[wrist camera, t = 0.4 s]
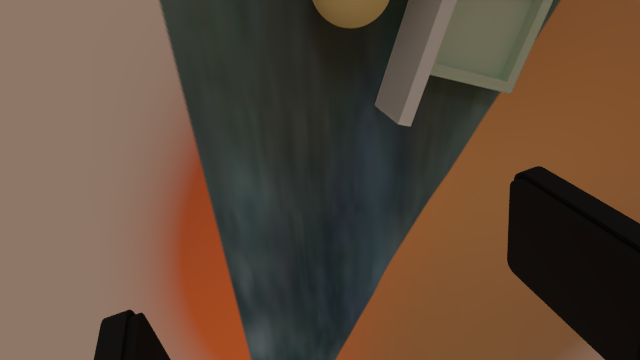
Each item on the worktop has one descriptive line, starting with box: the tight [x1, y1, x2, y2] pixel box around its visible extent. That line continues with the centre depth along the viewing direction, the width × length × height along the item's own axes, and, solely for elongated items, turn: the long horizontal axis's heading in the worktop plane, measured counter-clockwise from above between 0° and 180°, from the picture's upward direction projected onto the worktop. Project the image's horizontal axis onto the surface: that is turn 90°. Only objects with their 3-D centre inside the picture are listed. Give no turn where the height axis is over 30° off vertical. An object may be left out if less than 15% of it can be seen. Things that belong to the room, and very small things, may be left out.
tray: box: [430, 0, 553, 94], centre depth 38 cm, size 10×10×2 cm
